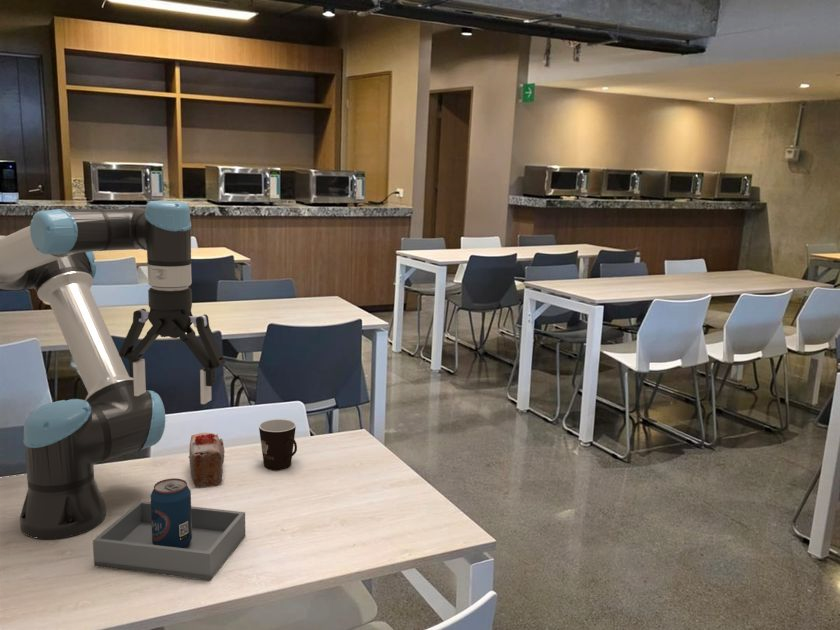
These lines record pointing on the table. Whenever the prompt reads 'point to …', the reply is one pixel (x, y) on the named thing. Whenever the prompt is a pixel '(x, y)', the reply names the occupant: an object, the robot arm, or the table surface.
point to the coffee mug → (277, 443)
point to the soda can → (171, 513)
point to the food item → (206, 459)
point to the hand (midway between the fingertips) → (172, 398)
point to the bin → (200, 560)
